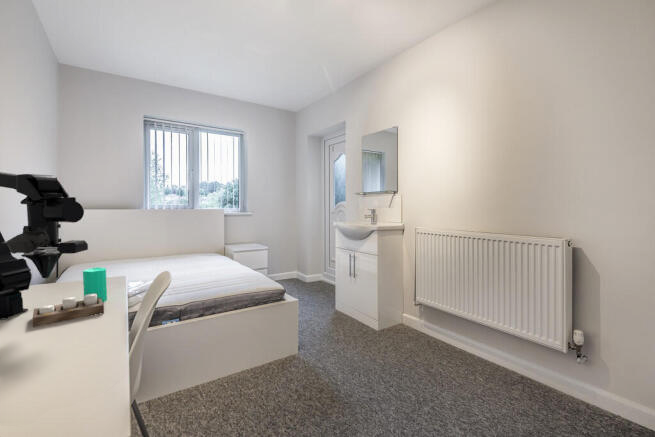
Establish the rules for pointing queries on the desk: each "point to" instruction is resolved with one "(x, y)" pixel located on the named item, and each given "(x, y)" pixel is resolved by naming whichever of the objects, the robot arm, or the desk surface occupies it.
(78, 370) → the desk surface
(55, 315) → the button board
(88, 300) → the button far
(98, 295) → the candle
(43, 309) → the button near
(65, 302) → the button middle
